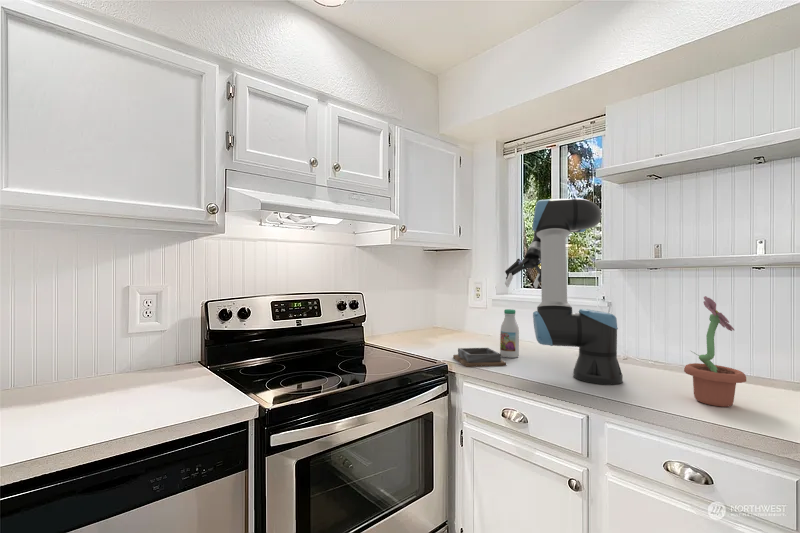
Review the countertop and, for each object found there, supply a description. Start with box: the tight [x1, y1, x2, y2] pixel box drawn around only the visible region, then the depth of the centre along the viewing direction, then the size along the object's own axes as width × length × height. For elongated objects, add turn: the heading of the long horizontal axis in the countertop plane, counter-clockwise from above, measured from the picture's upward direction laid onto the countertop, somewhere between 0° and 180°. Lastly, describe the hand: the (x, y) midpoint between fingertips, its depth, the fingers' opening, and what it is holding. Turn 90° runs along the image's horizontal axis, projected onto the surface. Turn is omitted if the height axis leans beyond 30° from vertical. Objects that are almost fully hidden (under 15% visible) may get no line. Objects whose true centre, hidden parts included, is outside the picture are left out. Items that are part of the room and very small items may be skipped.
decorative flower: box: [683, 296, 747, 408], centre depth 113 cm, size 15×14×30 cm
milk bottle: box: [499, 308, 520, 359], centre depth 173 cm, size 8×8×20 cm
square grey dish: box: [453, 347, 507, 368], centre depth 162 cm, size 16×16×4 cm
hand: (520, 285), depth 181 cm, fingers open, 13 cm apart
